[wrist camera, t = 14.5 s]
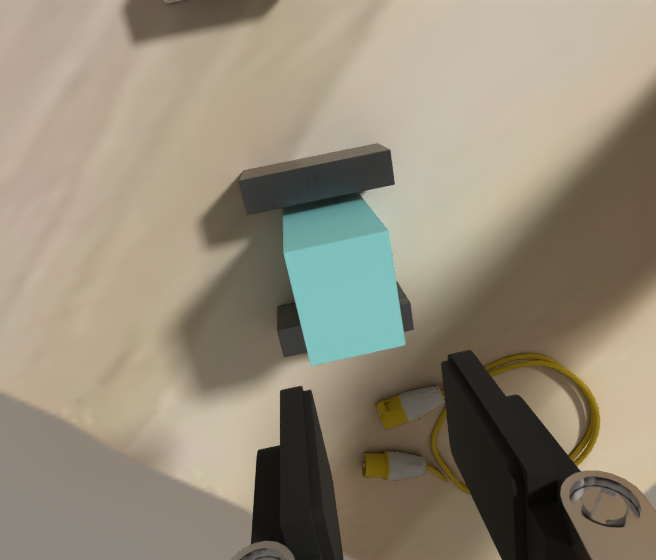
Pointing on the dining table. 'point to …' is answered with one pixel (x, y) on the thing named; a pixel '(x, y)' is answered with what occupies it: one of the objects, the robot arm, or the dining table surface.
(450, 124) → the dining table surface
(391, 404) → the extension cord
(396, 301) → the turquoise rectangular block
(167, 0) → the pair of white bars
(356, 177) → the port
